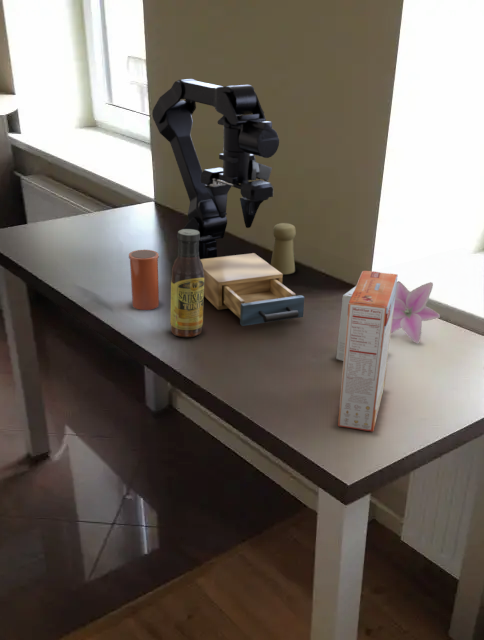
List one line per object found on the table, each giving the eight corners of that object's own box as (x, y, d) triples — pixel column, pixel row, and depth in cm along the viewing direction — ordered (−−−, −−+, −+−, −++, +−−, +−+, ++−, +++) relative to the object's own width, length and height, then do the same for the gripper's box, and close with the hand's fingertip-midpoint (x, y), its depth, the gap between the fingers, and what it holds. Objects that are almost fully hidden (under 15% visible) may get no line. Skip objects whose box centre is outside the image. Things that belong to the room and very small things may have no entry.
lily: (363, 327, 150) (365, 297, 142) (405, 296, 153) (409, 265, 145) (405, 363, 144) (410, 334, 136) (448, 330, 147) (455, 300, 139)
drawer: (312, 324, 146) (313, 304, 144) (250, 334, 141) (251, 313, 139) (274, 293, 160) (275, 274, 158) (216, 301, 155) (216, 282, 153)
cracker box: (348, 386, 126) (361, 268, 116) (384, 391, 124) (400, 273, 114) (334, 427, 114) (347, 300, 104) (373, 433, 113) (390, 305, 102)
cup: (134, 298, 158) (132, 248, 153) (162, 300, 158) (161, 250, 152) (128, 309, 153) (125, 258, 147) (157, 311, 152) (155, 259, 147)
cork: (265, 271, 175) (267, 225, 169) (276, 264, 179) (278, 219, 174) (288, 276, 172) (291, 229, 167) (299, 268, 177) (302, 223, 172)
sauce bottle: (178, 341, 140) (176, 238, 130) (165, 329, 145) (162, 229, 135) (209, 335, 143) (210, 234, 133) (196, 323, 147) (195, 225, 138)
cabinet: (281, 301, 159) (282, 273, 156) (218, 310, 154) (218, 282, 151) (253, 278, 170) (254, 252, 167) (193, 286, 165) (193, 260, 162)
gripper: (294, 153, 154) (290, 226, 162) (239, 138, 167) (238, 207, 175) (253, 159, 148) (250, 235, 156) (199, 143, 161) (199, 215, 169)
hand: (235, 222), depth 164 cm, fingers open, 9 cm apart
